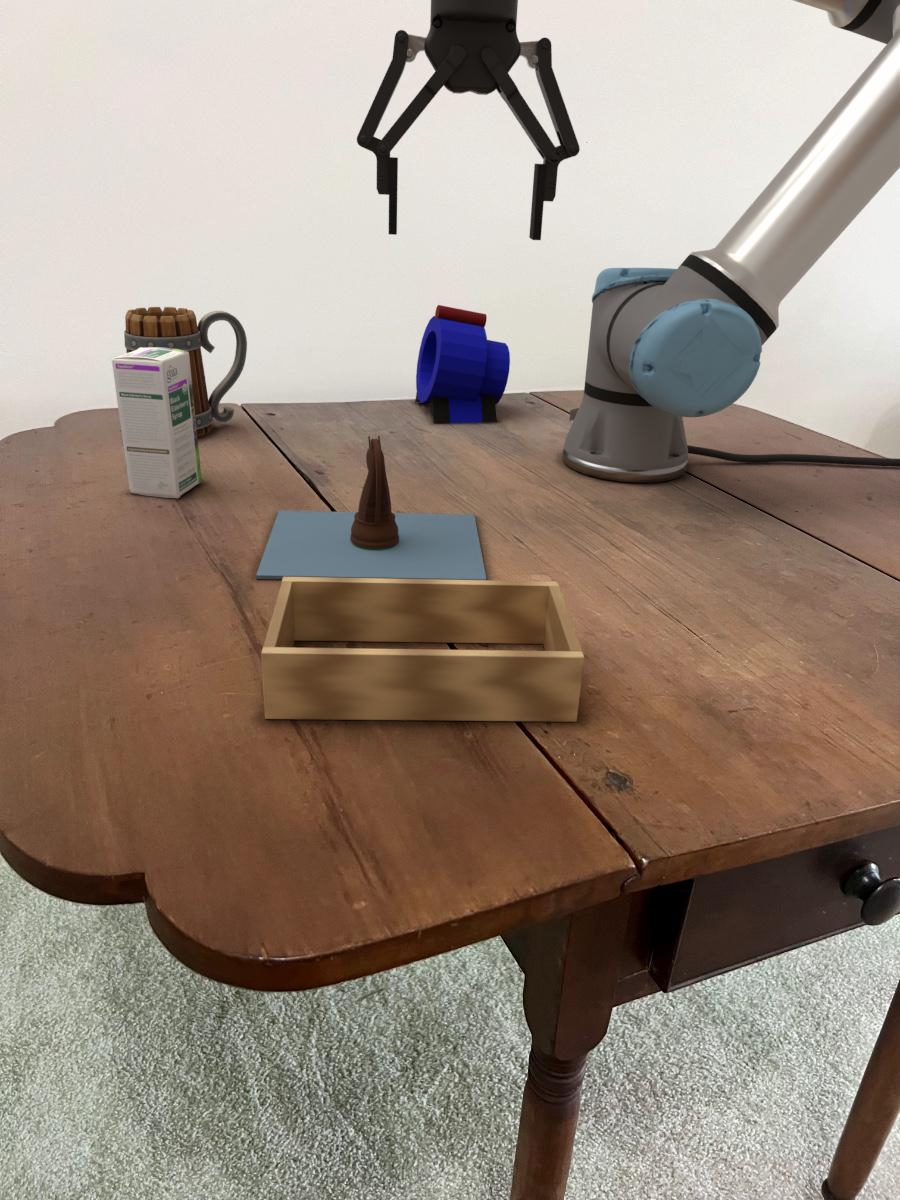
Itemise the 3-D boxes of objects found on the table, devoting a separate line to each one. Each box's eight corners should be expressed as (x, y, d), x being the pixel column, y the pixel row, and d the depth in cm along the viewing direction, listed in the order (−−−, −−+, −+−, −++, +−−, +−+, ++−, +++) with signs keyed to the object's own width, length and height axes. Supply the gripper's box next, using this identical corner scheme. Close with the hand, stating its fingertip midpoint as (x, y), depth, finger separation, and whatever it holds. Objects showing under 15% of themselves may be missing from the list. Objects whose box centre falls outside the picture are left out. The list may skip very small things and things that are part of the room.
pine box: (551, 639, 72) (557, 581, 69) (576, 722, 61) (584, 656, 59) (285, 635, 70) (282, 576, 68) (264, 719, 60) (260, 652, 58)
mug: (137, 446, 112) (123, 320, 106) (121, 425, 121) (108, 306, 114) (261, 435, 119) (255, 315, 112) (238, 415, 127) (232, 302, 121)
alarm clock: (410, 402, 138) (413, 298, 131) (489, 400, 141) (495, 298, 134) (428, 423, 127) (432, 311, 121) (513, 421, 130) (521, 312, 124)
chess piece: (394, 531, 90) (396, 430, 85) (403, 551, 85) (405, 446, 81) (347, 533, 89) (346, 431, 84) (353, 553, 84) (353, 447, 80)
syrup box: (178, 499, 96) (165, 359, 90) (127, 494, 97) (110, 354, 91) (202, 483, 101) (191, 349, 95) (153, 477, 102) (139, 344, 96)
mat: (474, 518, 95) (474, 514, 95) (486, 583, 80) (486, 579, 80) (278, 513, 94) (278, 510, 93) (256, 579, 79) (255, 575, 79)
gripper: (325, -48, 74) (329, 234, 83) (629, -31, 76) (600, 244, 85) (331, -31, 81) (335, 228, 90) (611, -16, 82) (586, 238, 92)
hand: (464, 236), depth 88 cm, fingers open, 13 cm apart
